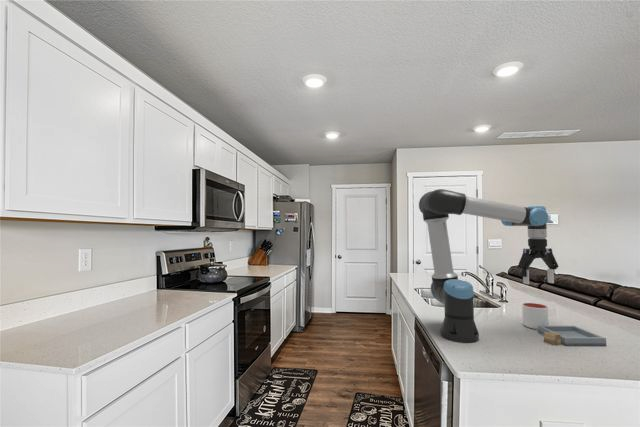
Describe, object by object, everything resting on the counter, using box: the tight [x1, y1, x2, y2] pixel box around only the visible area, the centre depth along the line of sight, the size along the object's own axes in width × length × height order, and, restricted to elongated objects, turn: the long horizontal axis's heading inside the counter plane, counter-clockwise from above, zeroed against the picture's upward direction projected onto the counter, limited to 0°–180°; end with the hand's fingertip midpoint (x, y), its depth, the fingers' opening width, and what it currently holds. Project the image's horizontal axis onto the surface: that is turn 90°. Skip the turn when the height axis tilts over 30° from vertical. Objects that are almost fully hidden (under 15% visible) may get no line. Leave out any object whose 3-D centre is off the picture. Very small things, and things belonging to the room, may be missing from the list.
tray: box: [537, 325, 607, 347], centre depth 134 cm, size 16×16×3 cm
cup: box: [521, 302, 549, 330], centre depth 150 cm, size 10×10×10 cm
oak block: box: [543, 331, 562, 346], centre depth 129 cm, size 4×4×4 cm
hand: (538, 283), depth 151 cm, fingers open, 13 cm apart
